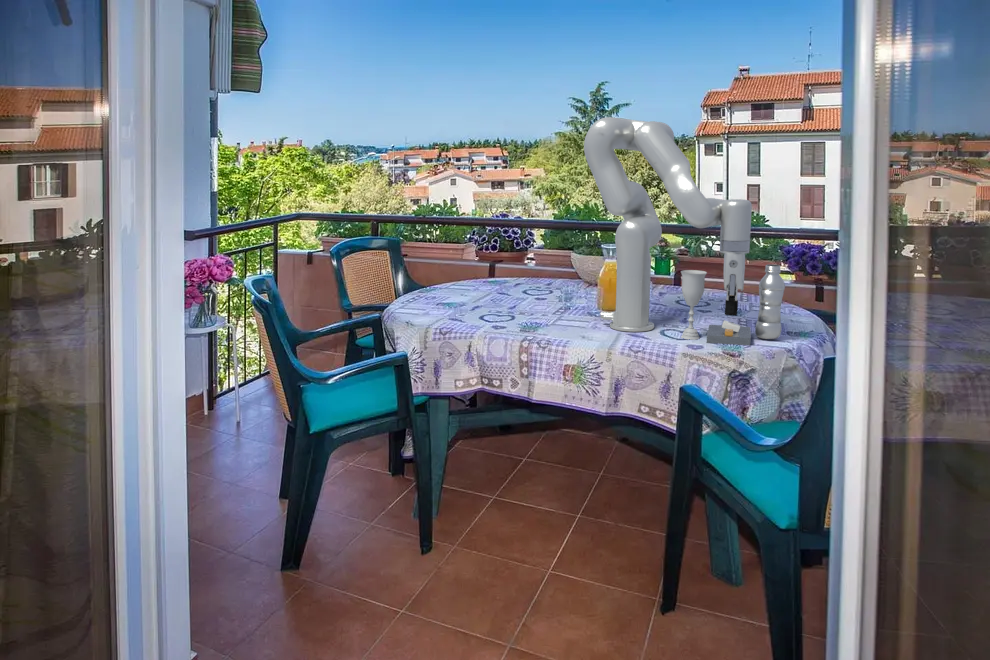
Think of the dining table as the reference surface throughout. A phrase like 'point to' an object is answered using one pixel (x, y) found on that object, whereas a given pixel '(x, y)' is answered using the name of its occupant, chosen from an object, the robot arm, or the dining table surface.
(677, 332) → the dining table surface
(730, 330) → the panel
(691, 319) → the chalice
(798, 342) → the dining table surface
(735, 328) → the block
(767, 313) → the plastic bottle
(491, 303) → the dining table surface
